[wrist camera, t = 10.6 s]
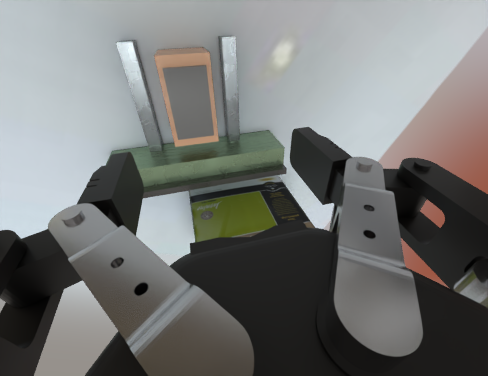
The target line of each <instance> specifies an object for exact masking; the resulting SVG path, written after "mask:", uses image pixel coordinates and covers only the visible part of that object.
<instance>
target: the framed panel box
mask: <svg viewBox="0 0 488 376" xmlns="http://www.w3.org/2000/svg"><path fill="white" fill-rule="evenodd" d="M154 57H155V62H156V66H157V70H158V74H159V79H160V83H161V87H162V92H163V96H164V100H165V105H166V109H167V113H168V117H169V122H170V126H171V130H172V135H173V139H174V143H175V147H179V146H186V145H194V144H201V143H209V142H216V141H219V139H218V129H217V120H216V110H215V100H214V90H213V81H212V71H211V61H210V52H208V51H207V50H206V49H204V48H203V47H200V48H182V49H164V50H157V52H156V53H155V55H154Z"/></svg>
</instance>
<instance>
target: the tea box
mask: <svg viewBox="0 0 488 376" xmlns="http://www.w3.org/2000/svg"><path fill="white" fill-rule="evenodd" d="M189 196H190V204H191V212H192V220H193V227H194V235H195V242H200V241H204V240H209V239H214V238H218V237H251V236H254V235H256V234H258V233H260V232H262V231H265V230H267V229H269V228H271V227H273V226H275V225H279V224H284V223H288V222H293V221H298V220H303V222H304V223H305V225H306V227H310V228H315V227H314V225H313V224H312V223H311V221H310V220H309V218H308V217H307V216H306V214H305V213H304V211H303V210H302V208H301V207H300V206H299V204H298V203H297V201H296V200H295V198H294V197H293V196H292V194H291V193H290V191H289V190H288V189H287V187H286V186H285V184H284V183H283V182H282V180H281V179H280V177H279V176H278V175H275V176H269V177H264V178H258V179H252V180H246V181H240V182H235V183H229V184H223V185H217V186H211V187H206V188H200V189H194V190H189Z"/></svg>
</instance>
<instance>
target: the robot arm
mask: <svg viewBox="0 0 488 376" xmlns="http://www.w3.org/2000/svg"><path fill="white" fill-rule="evenodd" d="M290 162H291V165H292V167H293V168H294V170H295V171H296V172H297V173H298V175H299V176H300V177H301V178H302V180H303V181H304V182H305V183H306V185H307V186H308V187H309V188H310V190H311V191H312V192H313V193H314V195H315V196H316V197H317V198H318V200H319V201H320V202H321V203H322V205H325V204H330V203H334V208H333V212H332V218H331V224H330V230H329V231H327V230H324V229H319V228H310V227H306V225H305V223H304V222H303V220H298V221H293V222H288V223H284V224H279V225H275V226H273V227H271V228H269V229H267V230H265V231H262V232H260V233H258V234H256V235H254V236H251V237H218V238H214V239H209V240H204V241H200V242H195V243H190V252H191V253H189V254H187V255H185V256H183V257H182V258H180V259H178V260H177V261H176V262H174V263H173V264H172V265H170V266H169V265H167V264H166V263H165V262H164V261H163V260H162V259H161V258H159V257H158V256H157V255H156V254H155V253H154V252H153V251H152V250H151V249H149V248H148V247H147V246H146V245H145V244H144V243H143V242H142V241H140V240H139V239H138V238H137V237H136V232H137V226H138V221H139V215H140V210H141V205H142V199H143V194H144V186H143V181H142V178H141V176H140V173H139V170H138V168H137V165H136V163H135V160H134V158H133V155H132V154H131V152H123V153H115V154H111V156H110V158H109V160H108V163H107V165H106V166H101V167H100V168H99V169H98V170H97V171H95V172H94V173H93V175H92V177H91V179H90V182H88V184H87V186H86V187H87V188H85V190H84V192H83V193H82V195H81V197H80V199H79V201H78V203H77V205H74V206H71V207H68V208H66V209H64V210H62V211H61V212H59V213H58V214H56V215H55V216H54V217H53V218H52V219H51V220H50V222H49V224H48V229H47V230H44V231H42V232H39V233H36V234H33V235H31V236H28V237H25V238H23V239H21V238H20V237H19V236H18V235H17V234H16V233H15V232H14V231H11V230H2V231H0V298H1V299H2V300H4V301H5V302H6V303H5V305H4V307H3V309H2V311H1V313H0V376H34V373H35V370H36V367H37V364H38V362H39V359H40V356H41V353H42V350H43V347H44V344H45V342H46V339H47V336H48V333H49V330H50V327H51V324H52V322H53V319H54V316H55V313H56V310H57V307H58V304H59V302H60V299H61V296H62V293H63V290H64V289H65V288H67V287H69V286H71V285H74V284H76V283H78V282H80V281H82V280H83V281H84V283H85V284H86V286H87V287H88V288H89V290H90V291H91V293H92V294H93V295H94V297H95V298H96V300H97V301H98V303H99V304H100V305H101V307H102V308H103V310H104V311H105V312H106V314H107V315H108V317H109V318H110V320H111V321H112V322H113V324H114V325H115V327H116V328H117V329H118V332H117V333H116V335H115V336H114V338H113V339H112V340H111V341H110V343H109V344H108V345H107V347H106V348H105V349H104V351H103V352H102V353H101V355H100V356H99V357H98V359H97V360H96V361H95V363H94V364H93V365H92V367H91V368H90V369H89V371H88V372H87V373H86V375H85V376H488V194H486V193H485V192H483V191H481V190H479V189H478V188H476V187H474V186H473V185H471V184H469V183H467V182H466V181H464V180H462V179H461V178H459V177H457V176H456V175H454V174H452V173H450V172H449V171H447V170H445V169H444V168H442V167H440V166H439V165H437V164H435V163H433V162H431V161H428V160H424V159H419V158H407V159H404V160H403V161H402V162H401V165H400V167H399V169H383V167H382V165H381V164H380V163H379V162H377V161H375V160H373V159H370V158H365V157H351V156H350V155H349V154H348V153H346V152H345V151H344V150H342V149H341V148H339V147H338V146H337V145H336V144H334V143H333V142H332V141H331V140H329V139H328V138H326V137H323V136H321V135H319V134H317V133H316V132H315V131H313V130H312V129H311V128H310V127H305V128H297V129H294V130H293V132H292V140H291V150H290ZM427 199H428V200H429V201H430V202H432V203H433V204H434V205H436V206H437V207H438V208H439V209H440V210H442V212H443V213H444V215H445V222H444V224H443V225H442V227H441V228H439V227H438V226H437V225H436V224H434V223H433V222H432V221H431V220H430V219H428V218H427V217H426V216H425V215H424V214H423V213H421V212H420V210H421V208H422V206H423V205H424V203H425V201H426V200H427ZM401 238H402V239H403V240H404V241H405V242H406V243H407V244H408V245H409V246H410V247H411V248H412V249H413V250H414V251H415V253H416V254H417V255H418V256H419V257H420V258H421V259H422V260H423V261H424V262H425V263H426V264H427V265H428V266H429V267H430V268H431V269H432V270H433V271H434V272H435V273H436V274H437V275H438V277H440V279H441V280H442V281H443V282H444V283H445V284H446V285H447V286H448V287H449V288H450V289H449V288H447V287H445V286H443V285H441V284H439V283H437V282H435V281H433V280H431V279H429V278H427V277H425V276H423V275H421V274H419V273H416V272H414V271H412V270H410V269H408V268H406V266H405V263H404V257H403V252H402V244H401Z"/></svg>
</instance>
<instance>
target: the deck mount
mask: <svg viewBox="0 0 488 376" xmlns="http://www.w3.org/2000/svg"><path fill="white" fill-rule="evenodd" d="M116 45H117V48H118V51H119V54H120V57H121V60H122V64H123V67H124V70H125V73H126V76H127V80H128V83H129V86H130V89H131V92H132V95H133V99H134V102H135V105H136V108H137V111H138V114H139V118H140V121H141V124H142V127H143V130H144V134H145V137H146V140H147V143H148V146H147V147H139V148H132V149H124V150H116V151H112V153H111V154H115V153H123V152H131V154H132V155H133V158H134V160H135V163H136V165H137V168H138V170H139V173H140V176H141V178H142V181H143V186H144V194H143V198H148V197H153V196H159V195H165V194H171V193H177V192H182V191H188V190H194V189H200V188H206V187H211V186H217V185H223V184H229V183H235V182H240V181H246V180H252V179H258V178H264V177H269V176H275V175H281V174H286V169H287V168H286V167H285V166H284V165H283V159H284V148H285V147H284V146H283V145H282V144H281V143H280V142H279V141H278V140H277V139H276V138H275V136H274V135H273V134H272V133H271V132H270V131H269V130H267V131H260V132H252V133H245V134H240V129H239V106H238V83H237V60H236V37H235V36H219V46H220V59H221V71H222V83H223V96H224V108H225V120H226V133H227V136H222V137H218V139H219V141H216V142H209V143H201V144H194V145H186V146H179V147H175V143H169V144H163V143H162V139H161V136H160V132H159V128H158V124H157V121H156V117H155V113H154V110H153V106H152V102H151V99H150V95H149V91H148V88H147V84H146V80H145V76H144V73H143V69H142V65H141V62H140V58H139V54H138V51H137V47H136V43H135V41H119V42H116ZM110 156H111V155H110ZM109 158H110V157H109ZM108 160H109V159H108ZM107 163H108V161H107ZM107 163H106V165H107Z"/></svg>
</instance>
